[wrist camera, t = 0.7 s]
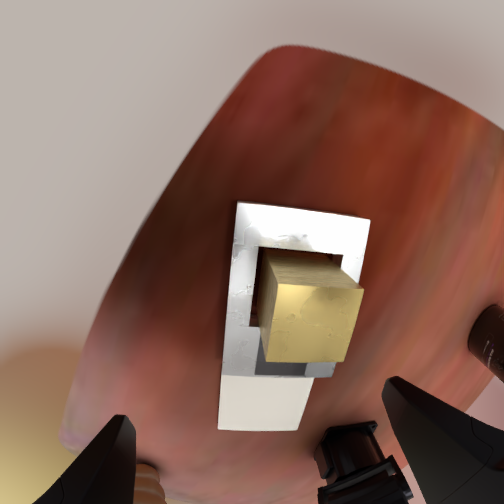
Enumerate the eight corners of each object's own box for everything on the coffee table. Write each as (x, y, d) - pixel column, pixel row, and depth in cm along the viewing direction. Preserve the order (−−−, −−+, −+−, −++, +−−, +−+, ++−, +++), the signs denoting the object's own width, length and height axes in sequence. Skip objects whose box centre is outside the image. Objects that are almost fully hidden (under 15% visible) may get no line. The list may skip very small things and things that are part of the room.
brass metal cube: (324, 254, 21) (364, 289, 14) (313, 310, 22) (343, 361, 15) (263, 248, 20) (278, 283, 13) (256, 307, 21) (265, 361, 15)
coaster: (313, 367, 23) (315, 373, 22) (295, 424, 25) (296, 430, 24) (222, 364, 22) (221, 370, 22) (217, 423, 24) (217, 429, 24)
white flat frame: (358, 215, 20) (371, 220, 18) (325, 363, 23) (331, 377, 21) (237, 200, 19) (237, 202, 17) (222, 360, 22) (221, 375, 20)
